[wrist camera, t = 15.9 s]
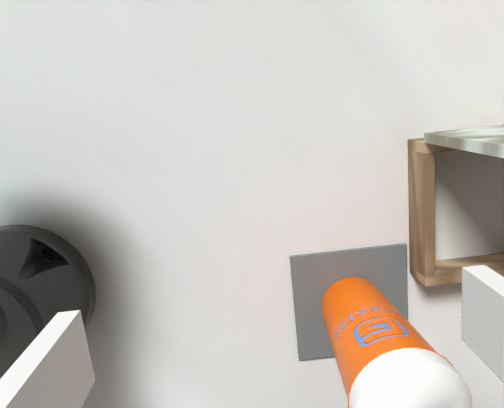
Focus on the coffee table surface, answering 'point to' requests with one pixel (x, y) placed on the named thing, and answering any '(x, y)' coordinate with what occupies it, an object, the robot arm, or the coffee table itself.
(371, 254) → the slate coaster
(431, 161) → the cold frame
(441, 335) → the coffee table surface
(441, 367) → the shaker bottle
